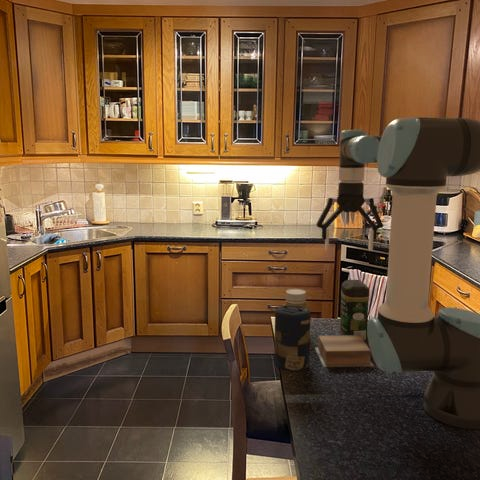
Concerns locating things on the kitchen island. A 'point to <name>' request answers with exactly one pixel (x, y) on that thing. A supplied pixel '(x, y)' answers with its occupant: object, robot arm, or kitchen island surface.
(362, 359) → the base block
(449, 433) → the kitchen island surface
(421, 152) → the robot arm
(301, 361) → the canister
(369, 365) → the board
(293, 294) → the bottle
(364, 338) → the coffee jar
